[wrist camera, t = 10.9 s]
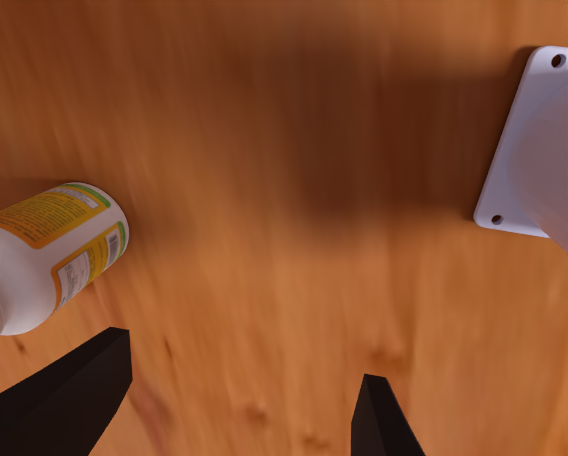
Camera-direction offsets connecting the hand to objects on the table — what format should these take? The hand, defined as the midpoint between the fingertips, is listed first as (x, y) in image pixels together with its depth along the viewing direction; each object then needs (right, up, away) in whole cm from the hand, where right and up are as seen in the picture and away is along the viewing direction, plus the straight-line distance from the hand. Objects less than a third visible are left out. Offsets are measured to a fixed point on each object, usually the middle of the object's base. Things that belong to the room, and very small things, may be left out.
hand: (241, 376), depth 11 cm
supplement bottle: (-10, +5, +12) cm, 16 cm away
